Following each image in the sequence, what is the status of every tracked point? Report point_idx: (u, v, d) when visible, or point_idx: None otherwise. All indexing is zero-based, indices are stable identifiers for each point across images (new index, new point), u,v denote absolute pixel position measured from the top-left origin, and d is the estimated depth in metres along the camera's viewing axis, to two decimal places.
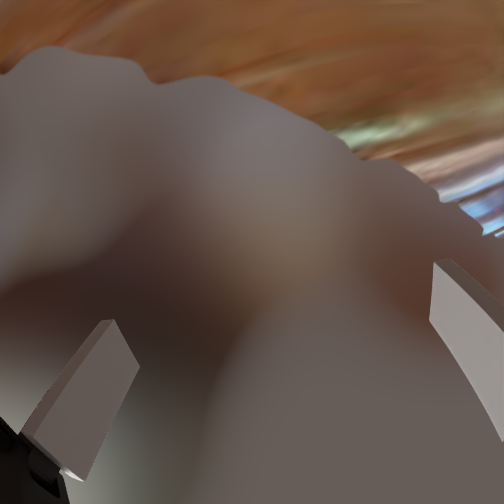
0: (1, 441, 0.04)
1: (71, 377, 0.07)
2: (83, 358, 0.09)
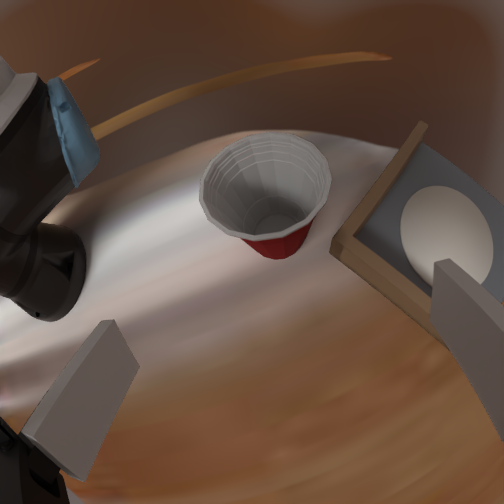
0: (1, 441, 0.04)
1: (71, 377, 0.08)
2: (83, 358, 0.09)
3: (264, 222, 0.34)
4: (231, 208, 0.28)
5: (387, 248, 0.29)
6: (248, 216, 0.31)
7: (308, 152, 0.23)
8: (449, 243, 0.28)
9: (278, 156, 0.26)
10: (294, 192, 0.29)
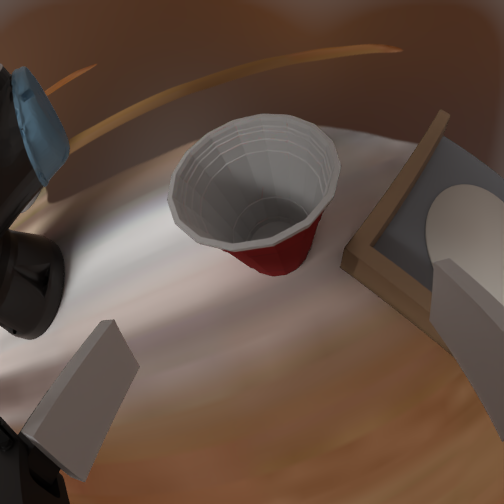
0: (1, 441, 0.04)
1: (71, 377, 0.08)
2: (83, 358, 0.09)
3: (261, 231, 0.28)
4: (215, 212, 0.22)
5: (411, 260, 0.23)
6: (239, 223, 0.25)
7: (309, 136, 0.18)
8: (482, 252, 0.21)
9: (272, 145, 0.20)
10: (295, 192, 0.23)
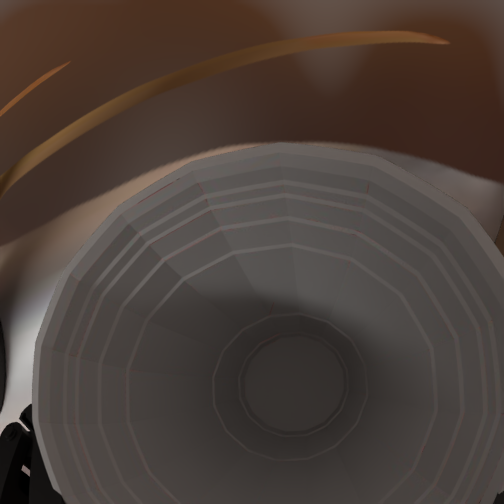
0: None
1: None
2: None
3: (266, 354, 0.15)
4: (168, 378, 0.09)
5: None
6: (225, 361, 0.12)
7: (444, 245, 0.05)
8: None
9: (310, 236, 0.07)
10: (344, 319, 0.10)
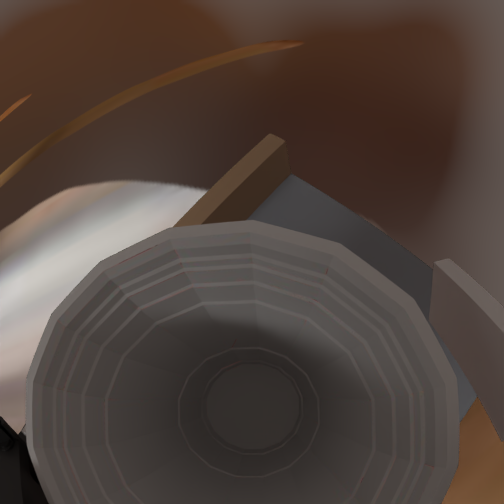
0: (1, 441, 0.04)
1: None
2: None
3: (227, 378, 0.16)
4: (140, 404, 0.09)
5: None
6: (190, 385, 0.13)
7: (388, 326, 0.06)
8: None
9: (271, 298, 0.08)
10: (300, 358, 0.11)
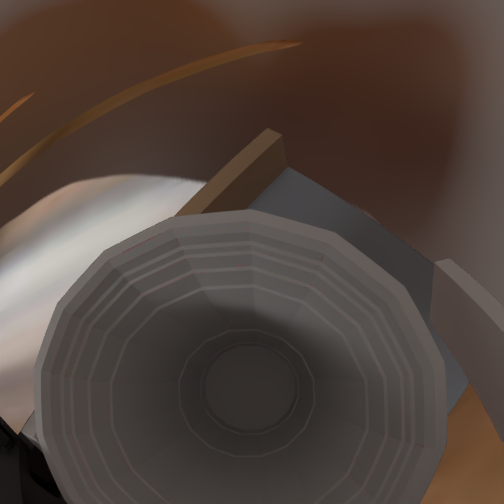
0: (1, 441, 0.04)
1: None
2: None
3: (225, 359, 0.16)
4: (142, 387, 0.10)
5: None
6: (189, 367, 0.14)
7: (380, 311, 0.06)
8: None
9: (269, 282, 0.09)
10: (296, 340, 0.12)
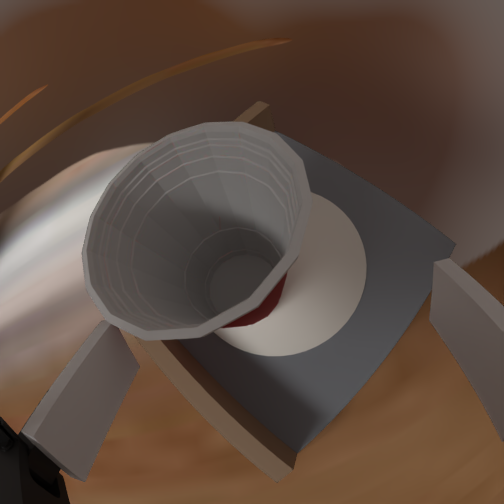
0: (1, 441, 0.04)
1: (71, 377, 0.08)
2: (83, 358, 0.09)
3: (224, 267, 0.23)
4: (156, 255, 0.17)
5: None
6: (193, 263, 0.20)
7: (270, 151, 0.13)
8: None
9: (224, 164, 0.15)
10: (260, 222, 0.18)
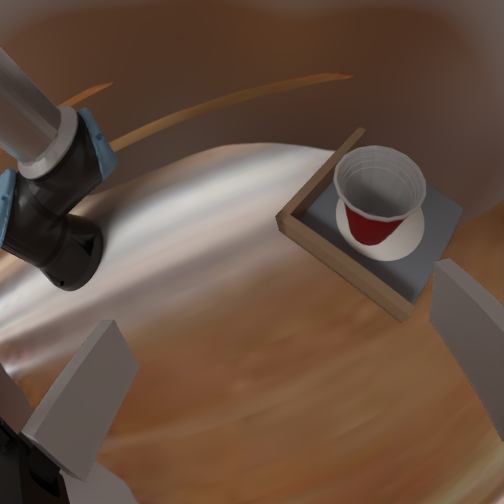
0: (1, 441, 0.04)
1: (71, 377, 0.08)
2: (83, 358, 0.09)
3: None
4: (345, 203, 0.34)
5: (324, 226, 0.41)
6: None
7: (403, 161, 0.30)
8: None
9: (378, 164, 0.32)
10: (384, 192, 0.35)
